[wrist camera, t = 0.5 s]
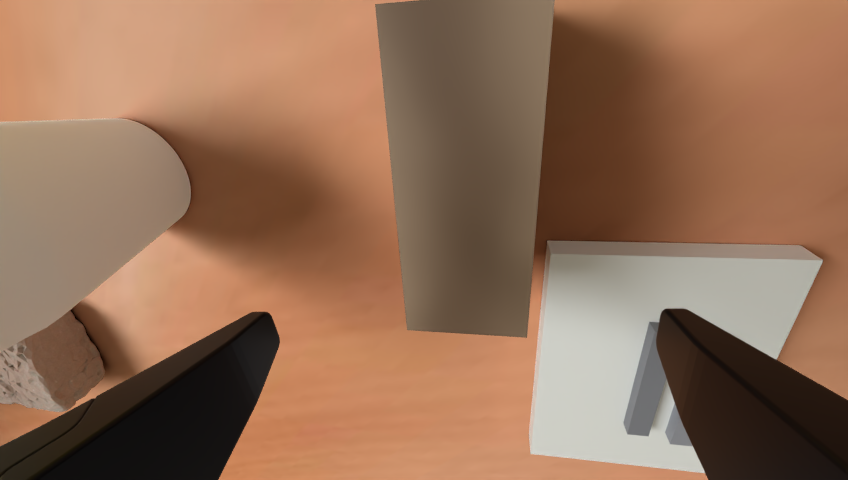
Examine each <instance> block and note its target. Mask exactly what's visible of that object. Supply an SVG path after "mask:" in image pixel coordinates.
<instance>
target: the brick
mask: <svg viewBox="0 0 848 480" xmlns="http://www.w3.org/2000/svg"><path fill="white" fill-rule="evenodd" d="M104 374H105V370H104V367H103V361H102V360H101V358H100V353H99V352H98V350H97V348H96V346H95V345H94V344H93V343H92V342H91V341H90V339H89V338H88V336H87V334H86V331H85V328H84V326H83V325H82V323H80V322H79V321H78V320H76V319H75V316H74V314H72V312H71V311H70V310H69V311H68V312H67V313H66V314H64V315H63V316H62V317H61V318H59V319H58V320H56V321H55V322H54V323H52V324H51V325H49V326H48V327H47V328H45V329H43V330H41V331H39V332H37V333H35V334H33V335H31V336H29V337H27V338H25V339H23V340H22V341H20V342H18V343H16V344H15V345H13V346H11V347H9V348H7V349H6V350H4V351H2V352H0V403H2V404H14V403H17V404H21V405H23V406H26V407H27V408H36V409H43V410H48V411H54V412H63V411H67V410H68V409H70V408H71V407H73V406H74V405H75V403H76V401H77V400H79V399H81V398H83V397H84V396H86V394H87V393H88V392H89V391H90V390H91V388H93V387H95V386H96V385H97V384H98V383H99V381H100V380H102V379H103V377H104Z"/></svg>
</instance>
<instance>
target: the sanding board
mask: <svg viewBox="0 0 848 480" xmlns="http://www.w3.org/2000/svg"><path fill="white" fill-rule="evenodd" d="M822 262H823V260H822V259H821V258H819V257H818V256H816V255H814V254H813V253H811V252H810V251H808V250H807V249H805V248H804V247H802V246H801V245H764V244H710V243H655V242H601V241H547V248H546V258H545V269H544V279H543V290H542V301H541V311H540V322H539V332H538V343H537V353H536V364H535V375H534V385H533V396H532V406H531V417H530V428H529V442H530V453H531V454H537V455H546V456H555V457H564V458H573V459H582V460H591V461H600V462H609V463H618V464H627V465H636V466H645V467H654V468H663V469H673V470H682V471H691V472H700V473H705V471H704V469H703V467H702V465H701V463H700V461H699V459H698V456H697V454H696V452H695V450H694V448H693V446H683V445H673V444H670V443H669V440H668V438H667V436H666V434H665V431H666V428H667V425H668V422H669V419H670V416H671V413H672V410H673V407H674V404H675V402H674V400H673V397H672V394H671V391H670V388H669V385H668V382H667V379H666V381H665V385H664V388H663V391H662V394H661V398H660V401H659V404H658V407H657V411H656V414H655V417H654V420H653V424H652V427H651V430H650V433H649V436H639V435H629V434H627V432H626V429H625V426H624V423H623V422H624V418H625V414H626V410H627V407H628V403H629V399H630V395H631V391H632V387H633V383H634V379H635V375H636V372H637V368H638V364H639V360H640V356H641V352H642V348H643V344H644V340H645V336H646V333H647V329H648V325H649V322H659V320H660V315H661V312H662V311H663V310H664V309H667V308H684V309H687V310H689V311H691V312H693V313H695V314H696V315H698V316H700V317H702V318H703V319H705V320H707V321H709V322H711V323H712V324H714V325H716V326H718V327H719V328H721V329H723V330H725V331H726V332H728V333H730V334H732V335H733V336H735V337H737V338H739V339H741V340H742V341H744V342H746V343H748V344H749V345H751V346H753V347H755V348H756V349H758V350H760V351H762V352H764V353H765V354H767V355H769V356H771V357H772V358H774V359H776V360H777V358H778V356H779V354H780V351H781V349H782V347H783V345H784V343H785V341H786V339H787V337H788V334H789V332H790V330H791V328H792V326H793V324H794V322H795V320H796V317H797V315H798V313H799V311H800V309H801V307H802V305H803V303H804V300H805V298H806V296H807V294H808V292H809V290H810V288H811V286H812V284H813V281H814V279H815V277H816V275H817V273H818V271H819V269H820V267H821V264H822Z"/></svg>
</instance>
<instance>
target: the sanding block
mask: <svg viewBox="0 0 848 480" xmlns="http://www.w3.org/2000/svg"><path fill="white" fill-rule="evenodd" d="M554 1H555V0H419V1H408V2H396V3H384V4H375V7H376V17H377V27H378V38H379V48H380V58H381V68H382V78H383V89H384V99H385V109H386V119H387V129H388V139H389V150H390V160H391V170H392V180H393V190H394V201H395V211H396V221H397V231H398V241H399V252H400V262H401V272H402V282H403V292H404V303H405V313H406V323H407V330H415V331H431V332H446V333H462V334H478V335H494V336H510V337H526V338H527V330H528V318H529V306H530V294H531V282H532V269H533V257H534V245H535V233H536V221H537V208H538V196H539V184H540V172H541V160H542V147H543V135H544V123H545V111H546V99H547V86H548V74H549V62H550V50H551V37H552V25H553V13H554Z"/></svg>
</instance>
